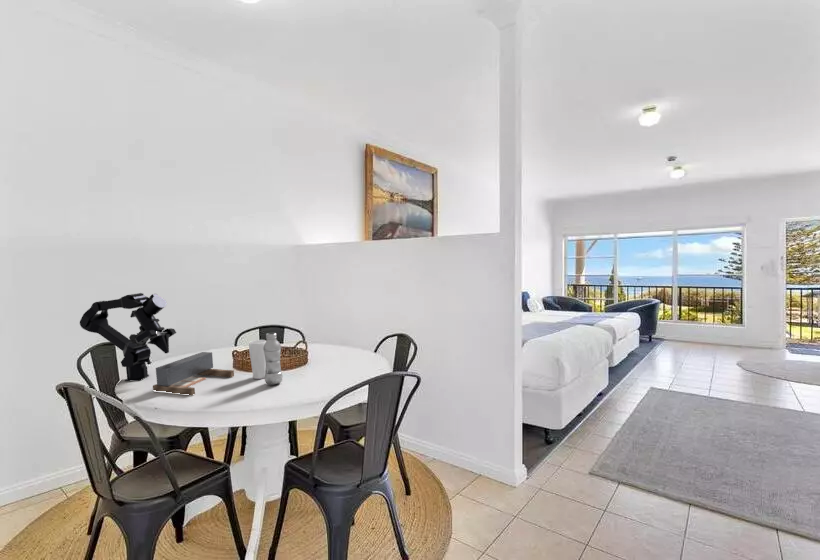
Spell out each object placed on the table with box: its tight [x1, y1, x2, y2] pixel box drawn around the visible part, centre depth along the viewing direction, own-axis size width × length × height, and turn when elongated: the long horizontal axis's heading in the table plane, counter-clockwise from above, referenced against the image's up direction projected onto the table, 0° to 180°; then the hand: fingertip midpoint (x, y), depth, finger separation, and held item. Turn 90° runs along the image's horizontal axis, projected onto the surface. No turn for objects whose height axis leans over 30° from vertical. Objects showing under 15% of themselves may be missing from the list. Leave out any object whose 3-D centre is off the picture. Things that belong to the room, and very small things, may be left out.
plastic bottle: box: [263, 332, 283, 386], centre depth 161 cm, size 6×7×20 cm
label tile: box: [170, 376, 207, 387], centre depth 166 cm, size 8×11×1 cm
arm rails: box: [152, 368, 235, 396], centre depth 165 cm, size 18×22×2 cm
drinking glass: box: [248, 339, 267, 380], centre depth 170 cm, size 7×7×15 cm
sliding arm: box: [155, 351, 214, 386], centre depth 166 cm, size 5×23×6 cm, turn 164°
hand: (167, 352), depth 168 cm, fingers closed
